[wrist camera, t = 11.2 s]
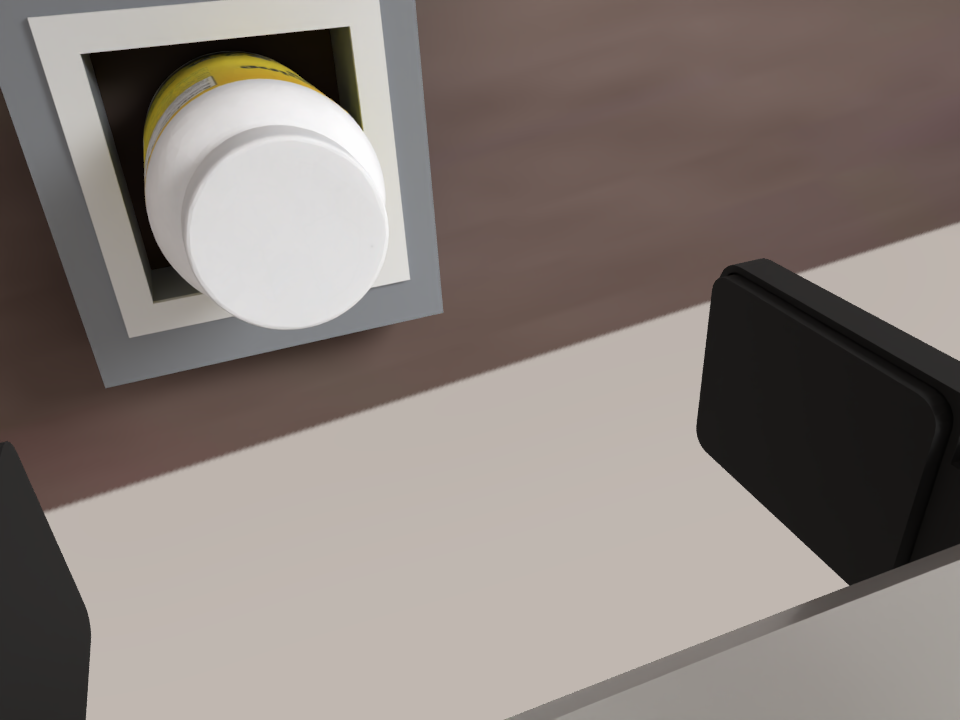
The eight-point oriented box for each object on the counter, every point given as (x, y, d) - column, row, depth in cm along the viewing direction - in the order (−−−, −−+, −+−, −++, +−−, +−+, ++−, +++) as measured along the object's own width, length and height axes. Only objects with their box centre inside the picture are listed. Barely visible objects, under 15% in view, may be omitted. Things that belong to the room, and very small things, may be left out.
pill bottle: (362, 136, 28) (471, 225, 19) (252, 261, 29) (307, 404, 20) (224, 3, 25) (276, 34, 16) (100, 148, 25) (83, 259, 16)
